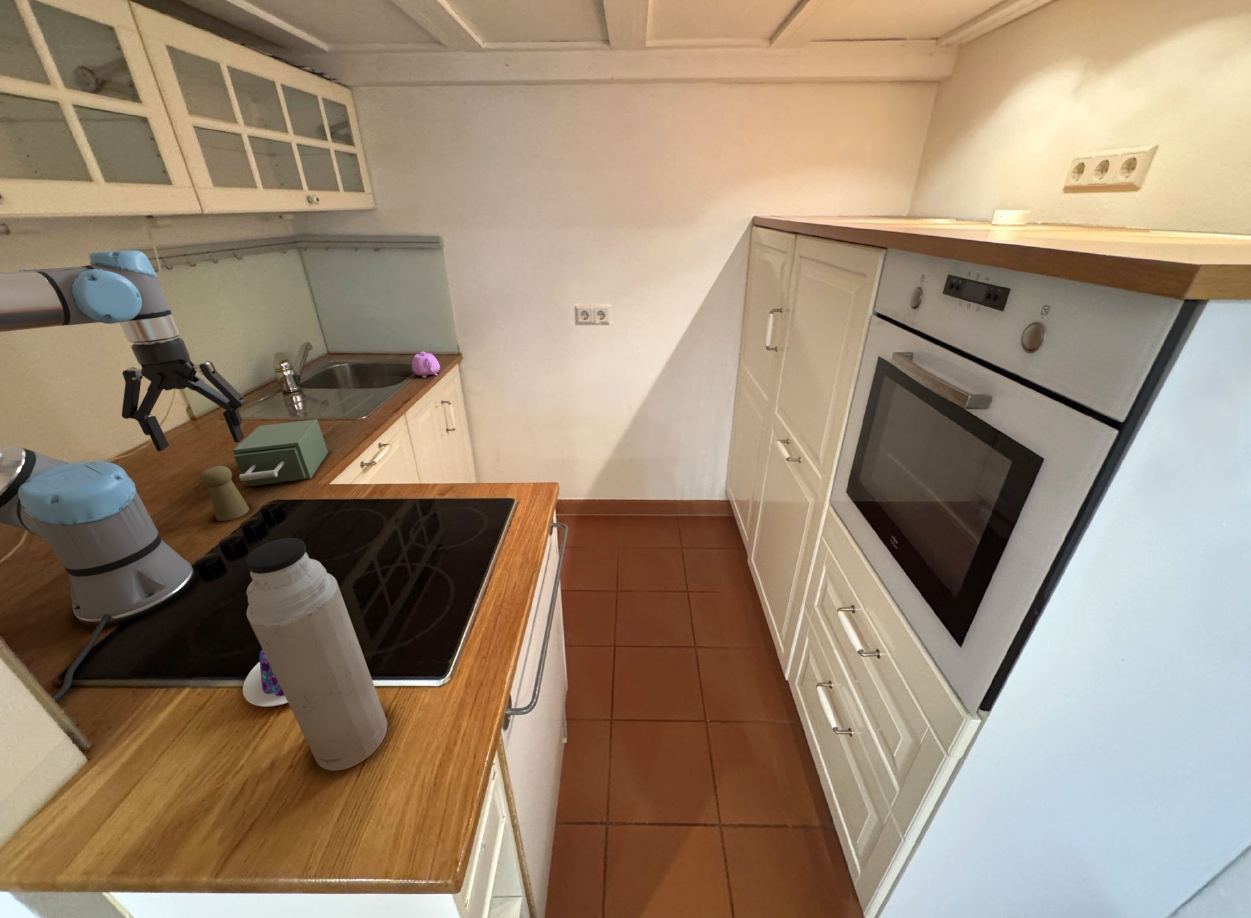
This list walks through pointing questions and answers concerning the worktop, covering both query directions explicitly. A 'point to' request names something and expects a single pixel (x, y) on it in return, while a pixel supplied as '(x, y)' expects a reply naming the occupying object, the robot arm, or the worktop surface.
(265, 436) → the cabinet
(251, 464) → the drawer
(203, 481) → the olive tapered upright piece
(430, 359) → the pink rounded figure
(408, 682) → the worktop surface
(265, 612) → the thermos bottle
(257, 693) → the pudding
